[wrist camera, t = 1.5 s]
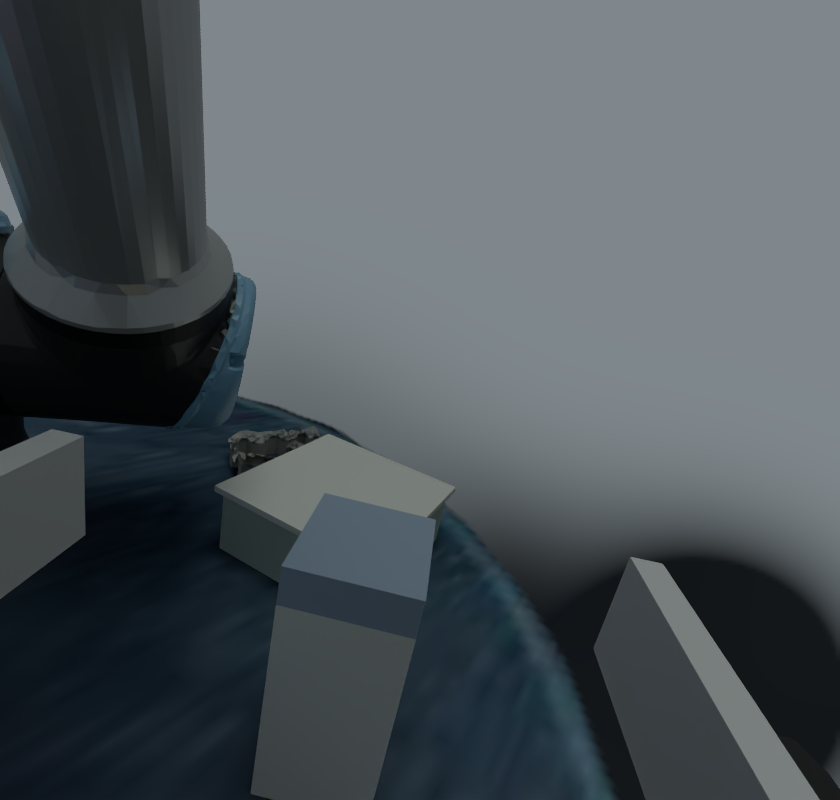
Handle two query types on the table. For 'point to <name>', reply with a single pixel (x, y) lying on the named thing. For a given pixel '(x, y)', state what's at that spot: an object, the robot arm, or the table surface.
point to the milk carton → (340, 650)
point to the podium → (314, 497)
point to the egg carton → (265, 446)
